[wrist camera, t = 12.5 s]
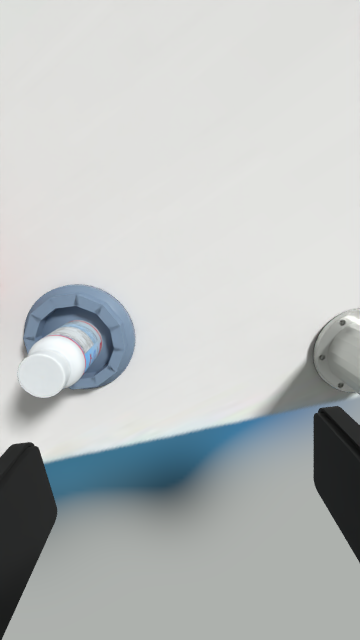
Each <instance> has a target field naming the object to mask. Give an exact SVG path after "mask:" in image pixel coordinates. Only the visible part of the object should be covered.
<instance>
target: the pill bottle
mask: <svg viewBox="0 0 360 640" xmlns="http://www.w3.org/2000/svg"><path fill="white" fill-rule="evenodd" d="M102 344H103V341H102V336H101V334H100V332H99V331H98V330H97V328H96V327H94V326H93V325H92V324H90V323H88V322H86V321H83V320H74V321H70V322H68V323H66V324H64V325H63V326H61V327H60V328H58V329H56V330H55V331H53V332H51V333H50V334H48V335H47V336H45V337H43V338H42V339H40V340H39V341H37V342H36V343H35V344H34V345H33V346H32V347H31V349H30V351H29V353H28V356H27V357H26V358H25V359H24V360H23V361H22V362H21V363H20V365H19V367H18V372H17V376H18V381H19V383H20V385H21V386H22V388H23V389H24V390H25V391H26V392H28V393H29V394H31V395H33V396H35V397H40V398H48V397H52V396H54V395H56V394H58V393H59V392H60V391H61V390H62V389H64V388H68V387H70V386H72V385H73V384H75V383H76V382H77V381H78V380H79V379H80V378H81V377H82V375H83V374H84V373H85V372H86V370H87V369H88V368H89V366H90V365H91V364H92V363H93V361H94V360H95V359H96V357H97V356H98V355H99V353H100V352H101V349H102Z"/></svg>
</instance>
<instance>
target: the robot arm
mask: <svg viewBox="0 0 360 640" xmlns="http://www.w3.org/2000/svg"><path fill="white" fill-rule="evenodd" d="M313 358H314V364H315V367H316V370H317V372H318V374H319V375H320V376H321V378H322V379H323V380H324V381H325V382H327V383H328V384H329V385H330V386H332V387H334V388H336V389H338V390H341V391H345V392H357V393H358V394H360V308H358V309H353V310H349V311H346V312H344V313H342V314H340V315H338V316H337V317H335V318H334V319H333V320H331V321H330V322H329V323H328V324H327V325H326V326H325V327H324V328H323V330H322V331H321V333H320V334H319V336H318V338H317V341H316V343H315V347H314V356H313ZM314 483H315V486H316V489H317V491H318V493H319V495H320V496H321V498H322V499H323V501H324V503H325V505H326V507H327V508H328V510H329V512H330V513H331V515H332V517H333V518H334V520H335V522H336V523H337V525H338V526H339V528H340V530H341V531H342V533H343V535H344V537H345V539H346V540H347V542H348V544H349V545H350V547H351V549H352V550H353V552H354V554H355V555H356V557H357V559H358V560H359V562H360V425H358V423H357V422H355V421H354V420H353V419H352V418H351V417H350V416H349V415H348V414H347V413H346V412H345V411H344V410H343V409H342V408H340V407H338V406H335V407H326V408H320V409H319V411H318V413H316V414H315V415H314ZM56 517H57V507H56V503H55V500H54V496H53V493H52V490H51V487H50V483H49V480H48V477H47V474H46V470H45V467H44V464H43V460H42V457H41V454H40V451H39V448H38V447H37V446H34V444H33V443H31V442H28V443H20V444H13V445H11V446H10V447H9V448H8V449H7V450H6V452H5V453H4V454H3V455H2V456H1V457H0V640H2V637H3V635H4V633H5V630H6V629H7V626H8V624H9V622H10V620H11V618H12V615H13V613H14V611H15V609H16V607H17V604H18V602H19V600H20V598H21V596H22V593H23V591H24V589H25V587H26V584H27V582H28V580H29V578H30V576H31V574H32V571H33V569H34V567H35V565H36V562H37V560H38V558H39V556H40V554H41V551H42V549H43V547H44V545H45V543H46V540H47V538H48V536H49V534H50V531H51V529H52V527H53V525H54V523H55V520H56Z"/></svg>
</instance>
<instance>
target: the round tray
mask: <svg viewBox="0 0 360 640" xmlns="http://www.w3.org/2000/svg"><path fill="white" fill-rule="evenodd" d="M74 320H83V321H86V322H88V323H90V324H92V325H93V326H94V327H96V328H97V330H98V331H99V332H100V334H101V336H102V341H103V344H102V349H101V352H100V353H99V355H98V356H97V357H96V359H95V360H94V361H93V363H92V364H91V365H90V366H89V368H88V369H87V370H86V372H85V373H84V374H83V375H82V377H81V378H80V379H79V380H78V381H77V382H76V383H75V384H73V385H72V386H70V387H68V388H70V389H91V388H97V387H100V386H103V385H106V384H108V383H110V382H111V381H113V380H115V379H116V378H117V377H118V376H120V375H121V373H122V372H123V371H124V370H125V369H126V367H127V366H128V364H129V362H130V360H131V357H132V355H133V352H134V347H135V330H134V326H133V323H132V320H131V318H130V316H129V314H128V312H127V311H126V309H125V308H124V307H123V305H122V304H121V303H120V302H119V301H118V300H117V299H115V298H114V297H113V296H112V295H110V294H109V293H107V292H105V291H103V290H101V289H99V288H96V287H93V286H88V285H79V284H76V285H67V286H63V287H59V288H56V289H53V290H51V291H49V292H47V293H46V294H44V295H43V296H42V297H40V298H39V299H38V300H37V301H36V302H35V304H34V305H33V306H32V308H31V309H30V311H29V313H28V316H27V318H26V322H25V328H24V337H23V339H24V342H25V346H26V349H27V353H29V351H30V349H31V347H32V346H33V345H34V344H35V343H36V342H37V341H39V340H40V339H42V338H43V337H45V336H47V335H48V334H50V333H51V332H53V331H55V330H56V329H58V328H60V327H61V326H63V325H64V324H66V323H68V322H70V321H74Z"/></svg>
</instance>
